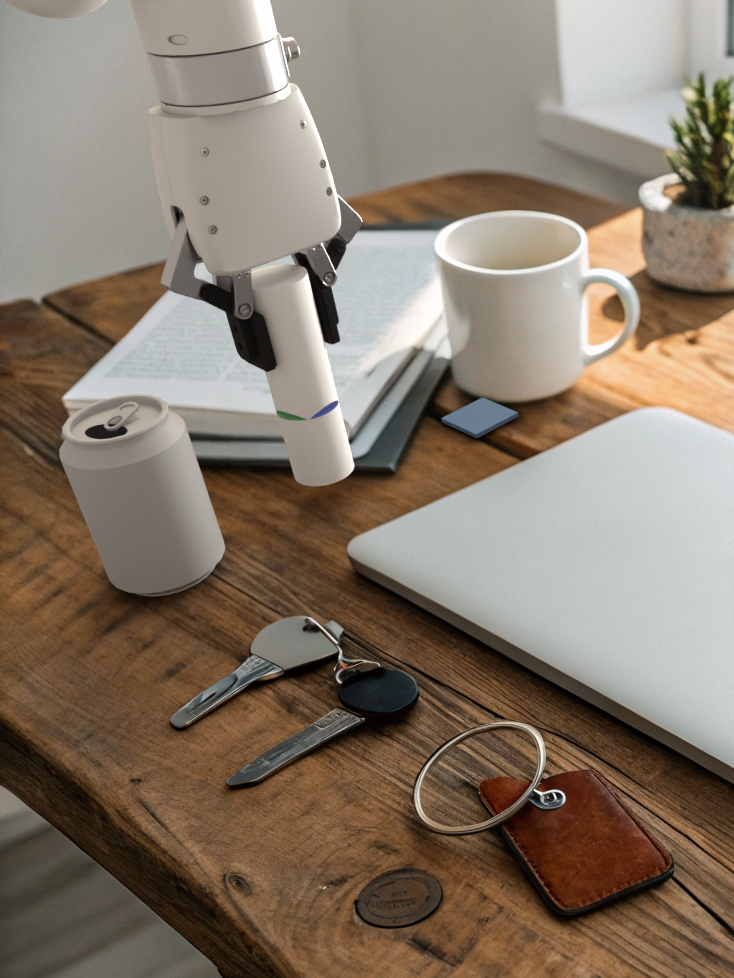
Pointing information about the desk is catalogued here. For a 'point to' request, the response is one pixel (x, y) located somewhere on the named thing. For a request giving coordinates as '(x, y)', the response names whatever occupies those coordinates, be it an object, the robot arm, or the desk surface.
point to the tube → (302, 377)
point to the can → (142, 494)
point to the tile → (479, 417)
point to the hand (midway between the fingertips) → (292, 349)
